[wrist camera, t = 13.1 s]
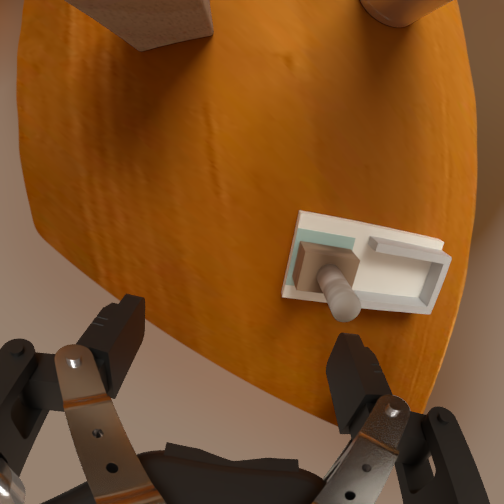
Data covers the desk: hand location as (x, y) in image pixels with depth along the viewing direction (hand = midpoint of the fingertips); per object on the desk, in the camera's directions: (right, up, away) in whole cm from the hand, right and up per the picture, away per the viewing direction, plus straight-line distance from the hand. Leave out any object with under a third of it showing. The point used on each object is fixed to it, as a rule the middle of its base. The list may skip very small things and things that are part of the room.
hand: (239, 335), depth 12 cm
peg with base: (+10, +2, +29) cm, 30 cm away
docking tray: (+17, +1, +31) cm, 35 cm away
